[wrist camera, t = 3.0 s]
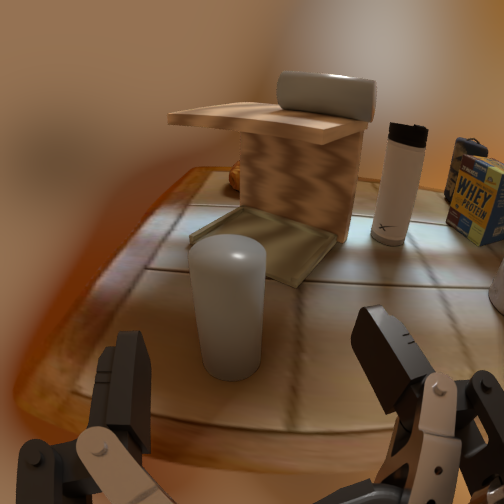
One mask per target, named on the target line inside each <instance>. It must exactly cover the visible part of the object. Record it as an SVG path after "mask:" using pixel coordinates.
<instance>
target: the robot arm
mask: <svg viewBox="0 0 504 504" xmlns="http://www.w3.org/2000/svg"><path fill="white" fill-rule="evenodd" d="M489 297H490V299H491V302H492V303H493V305H494V306H495V307H496V308H497V310H498V311H500V312H501V313H502V314H503V315H504V258H503V260H502V262H501V265H500V267H499V269H498V271H497V274H496V276H495V277H494V279H493V282H492V284H491V286H490V289H489ZM351 345H352V348H353V351H354V353H355V355H356V357H357V358H358V360H359V362H360V364H361V366H362V368H363V370H364V372H365V374H366V376H367V378H368V380H369V382H370V384H371V386H372V388H373V390H374V392H375V394H376V396H377V398H378V400H379V402H380V404H381V406H382V408H383V410H384V412H385V414H386V415H387V414H390V413H393V412H395V411H396V412H397V414H398V416H397V418H396V421H395V425H394V429H393V433H392V437H391V441H390V445H389V449H388V452H387V456H386V459H385V461H384V463H383V465H382V466H381V468H380V470H379V471H378V474H377V476H376V478H375V481H374V483H371V480H370V479H367V480H364V481H361V482H358V483H356V484H353V485H350V486H347V487H344V488H340V489H339V490H337V491H335V492H334V493H332V494H330V495H328V496H327V497H325V498H323V499H321V500H319V501H317V502H315V503H313V504H452V503H453V498H454V494H455V488H456V483H457V477H458V471H459V468H460V470H461V472H462V474H463V477H464V480H465V482H466V485H467V487H468V490H469V493H470V495H471V500H470V503H468V504H504V391H503V389H502V388H501V386H500V384H499V383H498V381H497V379H496V378H495V377H494V376H493V375H492V374H491V373H490V372H488V371H484V370H480V371H477V372H476V373H475V374H474V375H473V377H472V378H471V379H470V380H457V381H453V379H452V378H451V377H450V376H448V375H446V374H444V373H440V372H435V370H434V369H433V368H432V366H431V365H430V363H429V361H428V360H427V358H426V357H425V355H424V354H423V352H422V351H421V349H420V348H419V346H418V345H417V343H415V341H414V339H413V338H412V336H411V335H409V332H408V330H407V329H406V327H405V326H404V325H403V323H402V322H400V321H399V320H398V319H396V318H395V317H394V316H389V315H388V313H387V312H386V311H385V309H384V308H383V307H382V306H381V305H374V306H368V307H362V308H361V309H360V311H359V314H358V317H357V320H356V323H355V326H354V328H353V331H352V334H351ZM150 408H151V363H150V358H149V355H148V352H147V349H146V346H145V343H144V340H143V336H142V333H141V331H120V332H119V333H118V336H117V342H116V347H106V348H105V350H104V351H103V353H102V354H101V356H100V357H99V360H98V365H97V374H96V376H95V384H94V388H93V395H92V401H91V408H90V416H89V423H88V426H87V428H86V430H85V431H83V432H82V433H81V434H80V436H79V437H78V438H77V439H75V440H73V441H70V442H66V443H61V444H56V445H51V446H50V445H48V444H47V443H46V442H45V441H42V440H40V439H32V440H29V441H27V442H26V443H25V444H24V445H23V446H22V448H21V449H20V452H19V459H18V469H17V484H16V504H92V494H96V493H101V492H103V493H104V494H105V496H106V497H107V498H108V499H109V501H110V502H111V503H112V504H177V503H176V502H175V501H174V500H173V499H172V498H171V497H170V496H169V495H168V494H167V493H166V492H165V491H164V490H163V489H162V488H161V487H160V485H158V483H157V482H156V481H155V480H154V479H153V478H152V477H151V476H150V474H149V473H148V472H147V471H146V470H145V469H144V468H143V467H142V454H151V440H150ZM477 415H478V417H479V419H480V421H481V423H482V425H483V427H484V429H485V431H486V433H487V435H488V438H489V441H488V444H486V443H485V441H484V439H483V437H482V435H481V433H480V431H479V429H478V427H477V425H476V423H475V421H474V418H475V417H476V416H477Z"/></svg>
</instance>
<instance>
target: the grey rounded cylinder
mask: <svg viewBox="0 0 504 504" xmlns="http://www.w3.org/2000/svg"><path fill="white" fill-rule="evenodd" d="M188 263H189V271H190V279H191V287H192V294H193V302H194V309H195V315H196V322H197V329H198V335H199V341H200V348H201V354H202V359H203V364H204V367H205V369H206V370H207V371H208V372H209V373H210V374H211V375H212V376H214V377H215V378H218V379H220V380H224V381H239V380H242V379H245V378H247V377H249V376H251V375H252V374H253V373H254V372H255V371H256V370H257V369H258V367H259V364H260V360H261V343H262V326H263V309H264V290H265V271H266V251H265V249H264V247H263V246H262V245H261V244H260V243H259V242H257V241H256V240H254V239H252V238H249V237H246V236H242V235H236V234H222V235H215V236H211V237H207V238H205V239H202V240H200V241H199V242H197V243H196V244H194V245H193V246H192V247H191V249H190V250H189V253H188Z"/></svg>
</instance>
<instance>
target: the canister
mask: <svg viewBox="0 0 504 504" xmlns="http://www.w3.org/2000/svg"><path fill="white" fill-rule="evenodd" d="M471 140H475V141H476V142H477V143H476V142H474V141H471ZM463 154H466V155H472V156H479V157H485V158H487V156H488V149H487V148H486V147H485V146H483V145H481V144H480V143H479V142H478V141H477V140H476V139H475V138H470V139H465V138H461V137H459V138H457V139H456V142H455V146H454V152H453V156H452V161H451V165H450V170H449V175H448V179H447V183H446V187H445V191H444V195H445V197H446V198H447V199H448V200H449V201H450V202H451V201H452V198H453V194H454V190H455V186H456V182H457V178H458V173H459V169H460V165H461V160H462V155H463Z"/></svg>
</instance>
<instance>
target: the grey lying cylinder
mask: <svg viewBox="0 0 504 504" xmlns="http://www.w3.org/2000/svg"><path fill="white" fill-rule="evenodd" d="M376 96H377V86H376V81H374V80H368V79H362V78H355V77H348V76H340V75H332V74H321V73H311V72H296V71H283V72H282V73H281V75H280V77H279V79H278V83H277V100H278V104H279V106H280V107H281V108H282V109H285V110H294V111H303V112H311V113H318V114H325V115H331V116H337V117H343V118H349V119H355V120H360V121H365V122H370V123H371V122H372V121H373V117H374V113H375V107H376Z"/></svg>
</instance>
